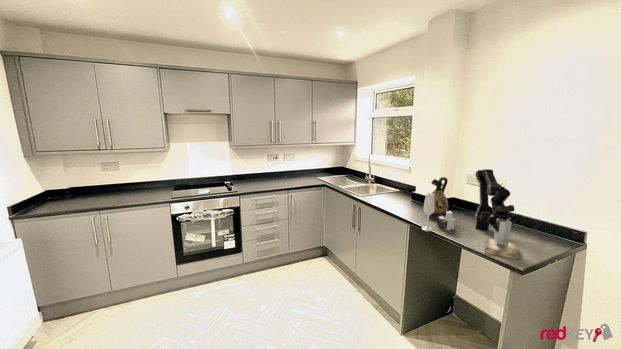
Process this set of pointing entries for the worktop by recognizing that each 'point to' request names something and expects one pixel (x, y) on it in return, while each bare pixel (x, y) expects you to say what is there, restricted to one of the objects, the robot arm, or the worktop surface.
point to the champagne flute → (428, 208)
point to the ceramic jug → (439, 197)
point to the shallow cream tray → (500, 249)
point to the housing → (502, 231)
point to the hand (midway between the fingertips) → (503, 232)
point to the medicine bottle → (446, 220)
